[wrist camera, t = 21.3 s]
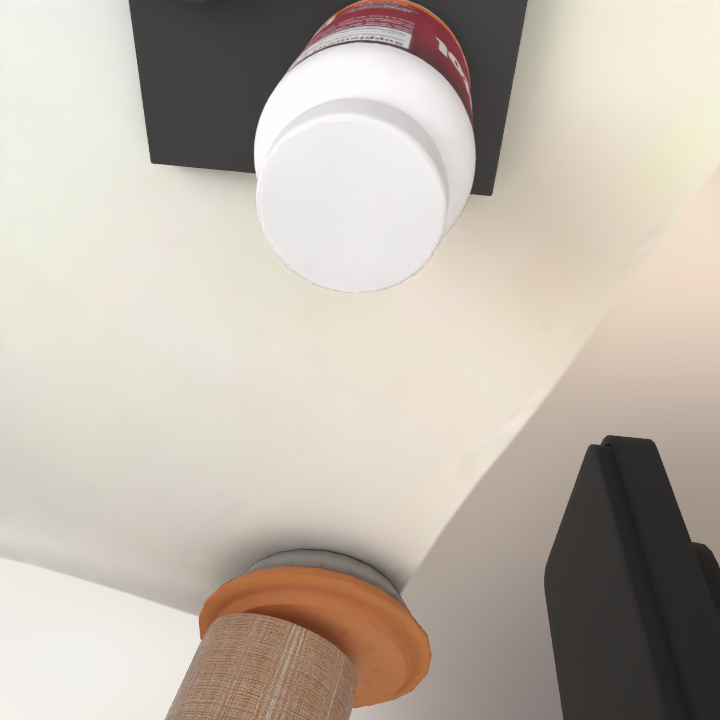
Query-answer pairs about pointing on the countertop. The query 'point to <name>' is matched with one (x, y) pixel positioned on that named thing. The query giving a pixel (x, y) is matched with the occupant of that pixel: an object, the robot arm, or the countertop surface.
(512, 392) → the countertop surface
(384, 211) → the pill bottle
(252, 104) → the scale
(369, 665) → the pie
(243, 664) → the planter
